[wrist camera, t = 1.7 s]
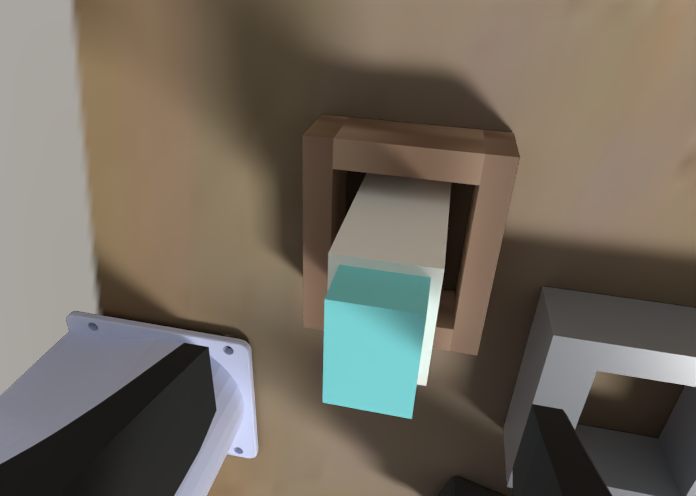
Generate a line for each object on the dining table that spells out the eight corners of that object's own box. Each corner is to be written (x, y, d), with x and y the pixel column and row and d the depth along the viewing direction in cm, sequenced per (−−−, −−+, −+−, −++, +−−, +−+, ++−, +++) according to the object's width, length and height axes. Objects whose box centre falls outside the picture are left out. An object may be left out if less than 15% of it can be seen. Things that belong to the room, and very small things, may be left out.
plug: (363, 260, 21) (311, 408, 14) (368, 167, 19) (312, 286, 12) (437, 271, 20) (422, 429, 13) (451, 176, 18) (442, 306, 11)
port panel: (503, 429, 24) (507, 487, 21) (542, 286, 20) (553, 335, 17) (690, 464, 22) (719, 529, 20) (773, 318, 18) (822, 376, 16)
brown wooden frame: (319, 291, 22) (303, 327, 20) (322, 114, 18) (301, 135, 16) (476, 315, 21) (477, 355, 19) (513, 132, 17) (519, 157, 15)
